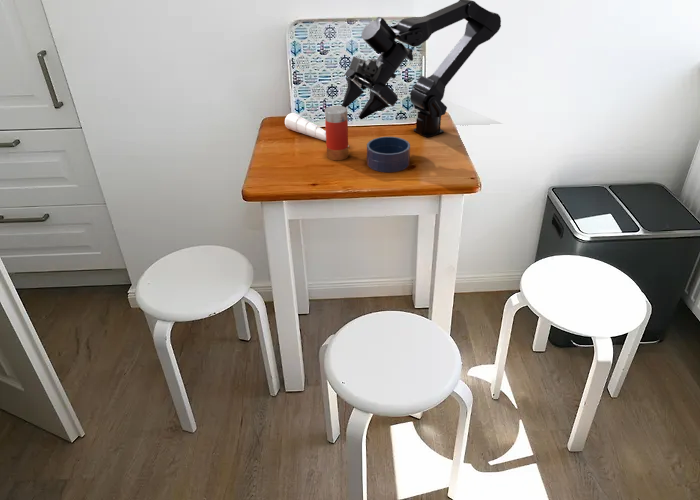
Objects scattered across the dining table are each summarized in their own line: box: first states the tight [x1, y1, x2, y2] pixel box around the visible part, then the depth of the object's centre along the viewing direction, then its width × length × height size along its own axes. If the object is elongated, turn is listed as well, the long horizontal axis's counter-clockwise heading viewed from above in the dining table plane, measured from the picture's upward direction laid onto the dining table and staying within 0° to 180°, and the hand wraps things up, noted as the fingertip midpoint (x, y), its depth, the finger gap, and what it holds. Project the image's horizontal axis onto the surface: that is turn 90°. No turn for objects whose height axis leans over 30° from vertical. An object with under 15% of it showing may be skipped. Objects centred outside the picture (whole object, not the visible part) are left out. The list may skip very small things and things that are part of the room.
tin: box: [324, 105, 349, 161], centre depth 153 cm, size 6×6×13 cm
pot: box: [366, 136, 411, 173], centre depth 151 cm, size 11×11×5 cm
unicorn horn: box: [284, 112, 350, 148], centre depth 165 cm, size 5×24×5 cm, turn 45°
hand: (351, 112), depth 152 cm, fingers open, 9 cm apart
